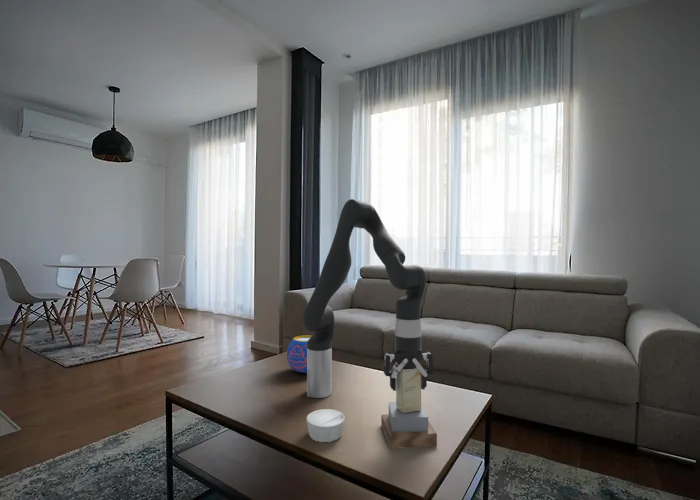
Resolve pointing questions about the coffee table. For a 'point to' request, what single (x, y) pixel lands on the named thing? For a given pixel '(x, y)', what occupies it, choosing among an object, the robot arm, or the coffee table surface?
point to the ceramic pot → (298, 353)
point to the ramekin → (325, 425)
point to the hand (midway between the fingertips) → (408, 389)
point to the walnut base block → (407, 436)
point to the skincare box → (408, 390)
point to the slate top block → (408, 420)
